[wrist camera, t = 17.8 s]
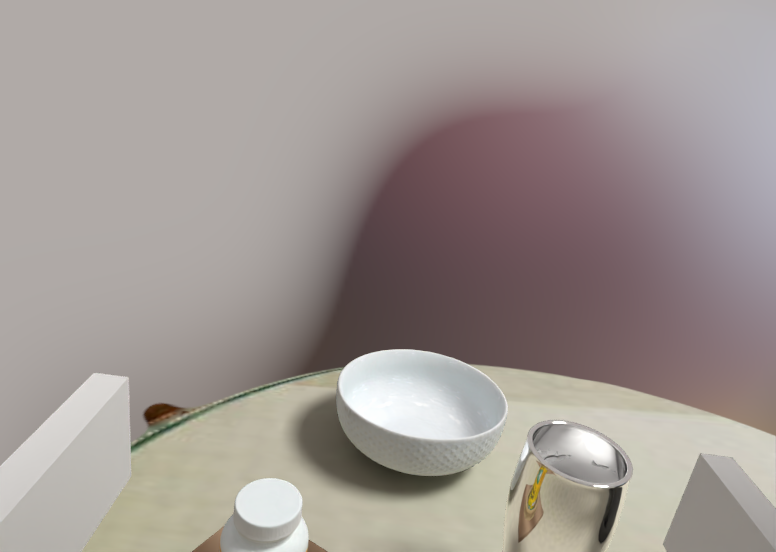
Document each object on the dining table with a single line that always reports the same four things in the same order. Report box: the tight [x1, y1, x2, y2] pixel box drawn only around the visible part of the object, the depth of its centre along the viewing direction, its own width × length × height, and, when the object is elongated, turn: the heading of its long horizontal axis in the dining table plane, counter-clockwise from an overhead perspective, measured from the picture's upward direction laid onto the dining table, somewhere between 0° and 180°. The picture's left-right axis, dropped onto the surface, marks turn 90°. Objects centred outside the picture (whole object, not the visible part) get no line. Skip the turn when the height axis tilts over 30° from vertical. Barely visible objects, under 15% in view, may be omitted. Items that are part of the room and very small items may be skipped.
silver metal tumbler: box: [502, 420, 633, 552], centre depth 38 cm, size 7×7×15 cm
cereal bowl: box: [336, 349, 508, 476], centre depth 56 cm, size 17×17×7 cm
